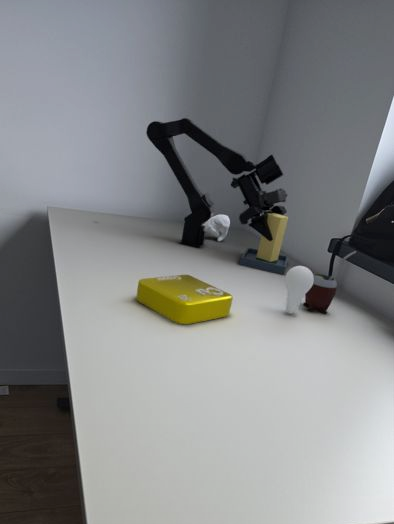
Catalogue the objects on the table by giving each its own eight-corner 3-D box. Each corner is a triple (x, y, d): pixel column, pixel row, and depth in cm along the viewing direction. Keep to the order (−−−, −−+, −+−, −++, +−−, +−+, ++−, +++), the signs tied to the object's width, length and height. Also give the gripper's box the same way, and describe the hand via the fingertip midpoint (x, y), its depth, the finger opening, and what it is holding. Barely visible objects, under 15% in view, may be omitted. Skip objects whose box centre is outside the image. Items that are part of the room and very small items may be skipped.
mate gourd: (294, 306, 117) (311, 243, 111) (311, 301, 122) (328, 242, 116) (322, 317, 113) (341, 253, 106) (338, 312, 118) (357, 251, 112)
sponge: (255, 260, 149) (266, 213, 143) (263, 258, 152) (274, 213, 147) (269, 265, 146) (280, 217, 141) (276, 263, 150) (288, 217, 144)
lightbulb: (305, 313, 113) (318, 267, 109) (301, 321, 108) (315, 272, 103) (279, 306, 114) (291, 260, 110) (274, 313, 109) (287, 265, 105)
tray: (239, 264, 144) (241, 256, 143) (246, 254, 158) (247, 247, 157) (283, 274, 142) (285, 267, 141) (286, 263, 156) (288, 256, 155)
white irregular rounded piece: (231, 217, 164) (195, 213, 164) (228, 242, 167) (193, 239, 167) (230, 214, 170) (195, 211, 170) (227, 238, 173) (193, 235, 173)
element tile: (184, 291, 112) (187, 271, 110) (232, 316, 103) (237, 294, 101) (131, 298, 101) (134, 276, 100) (180, 326, 93) (185, 302, 91)
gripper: (257, 176, 135) (282, 227, 134) (288, 178, 149) (311, 224, 148) (228, 199, 142) (251, 247, 141) (260, 199, 156) (282, 243, 155)
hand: (275, 239), depth 146 cm, fingers closed on sponge, 5 cm apart
